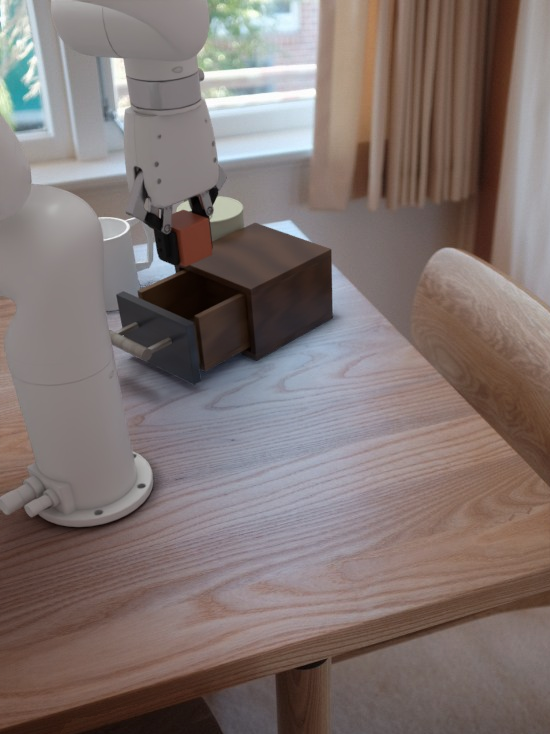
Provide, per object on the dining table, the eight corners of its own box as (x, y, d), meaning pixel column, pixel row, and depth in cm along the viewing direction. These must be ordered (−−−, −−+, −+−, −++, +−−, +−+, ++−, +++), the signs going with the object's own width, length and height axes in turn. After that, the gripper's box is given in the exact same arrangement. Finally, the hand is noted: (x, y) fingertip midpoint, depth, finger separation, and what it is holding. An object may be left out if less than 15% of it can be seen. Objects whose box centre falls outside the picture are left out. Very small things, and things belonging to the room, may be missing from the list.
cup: (174, 290, 130) (165, 221, 123) (101, 317, 124) (87, 247, 117) (143, 271, 135) (133, 205, 128) (71, 296, 128) (56, 228, 122)
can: (181, 301, 127) (170, 218, 119) (190, 273, 134) (180, 192, 126) (247, 301, 127) (240, 217, 119) (252, 272, 134) (246, 191, 126)
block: (185, 267, 105) (180, 230, 102) (160, 256, 107) (154, 220, 104) (212, 254, 108) (208, 218, 105) (187, 244, 110) (183, 209, 107)
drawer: (164, 402, 106) (154, 342, 100) (96, 366, 112) (83, 308, 107) (272, 341, 116) (268, 284, 111) (205, 312, 123) (198, 257, 117)
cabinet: (256, 361, 114) (250, 289, 108) (182, 327, 121) (173, 258, 115) (332, 317, 123) (331, 248, 117) (260, 288, 130) (255, 222, 124)
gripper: (199, 67, 102) (215, 224, 114) (77, 103, 92) (109, 270, 104) (246, 78, 98) (258, 239, 110) (124, 117, 89) (152, 289, 101)
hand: (185, 252), depth 107 cm, fingers closed on block, 4 cm apart
